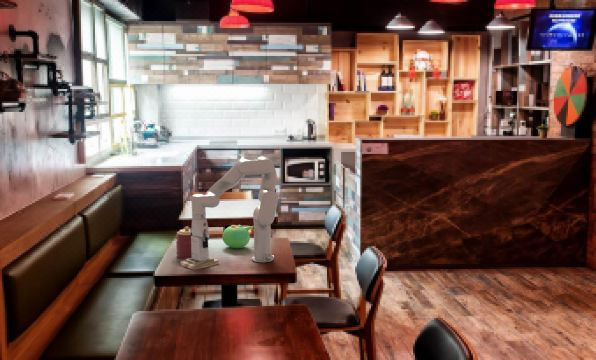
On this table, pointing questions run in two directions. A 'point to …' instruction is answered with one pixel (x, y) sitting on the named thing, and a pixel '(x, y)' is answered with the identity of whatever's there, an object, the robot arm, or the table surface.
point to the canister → (184, 243)
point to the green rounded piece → (236, 236)
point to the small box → (198, 249)
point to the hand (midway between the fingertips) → (200, 246)
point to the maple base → (198, 263)
